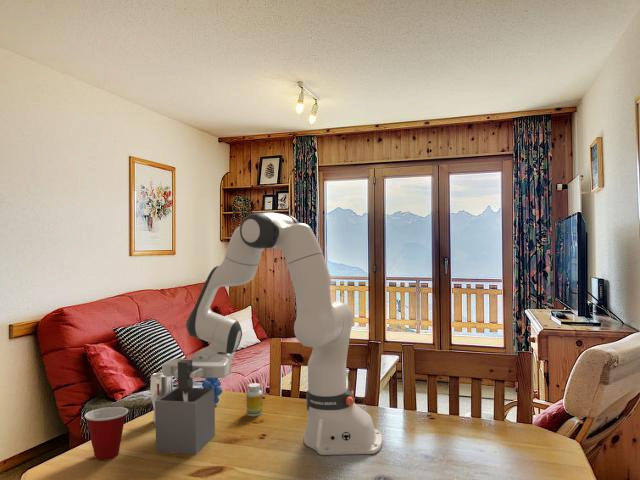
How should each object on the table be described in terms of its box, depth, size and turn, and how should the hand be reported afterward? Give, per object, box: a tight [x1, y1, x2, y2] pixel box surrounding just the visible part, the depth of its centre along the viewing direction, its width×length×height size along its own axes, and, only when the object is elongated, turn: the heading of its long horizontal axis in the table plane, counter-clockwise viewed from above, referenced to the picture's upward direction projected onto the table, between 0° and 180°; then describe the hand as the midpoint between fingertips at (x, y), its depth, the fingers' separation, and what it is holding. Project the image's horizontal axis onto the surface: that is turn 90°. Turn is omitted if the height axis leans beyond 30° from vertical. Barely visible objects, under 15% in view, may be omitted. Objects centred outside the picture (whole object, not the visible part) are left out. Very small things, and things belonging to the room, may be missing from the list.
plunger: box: [177, 360, 194, 402], centre depth 126 cm, size 9×9×22 cm
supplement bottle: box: [245, 382, 264, 417], centre depth 147 cm, size 5×5×10 cm
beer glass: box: [150, 371, 174, 425], centre depth 143 cm, size 7×7×15 cm
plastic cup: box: [84, 406, 130, 461], centre depth 120 cm, size 11×11×12 cm
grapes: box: [201, 377, 223, 407], centre depth 153 cm, size 12×7×12 cm, turn 165°
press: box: [154, 386, 216, 455], centre depth 126 cm, size 12×12×14 cm
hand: (183, 376), depth 125 cm, fingers closed on plunger, 3 cm apart
